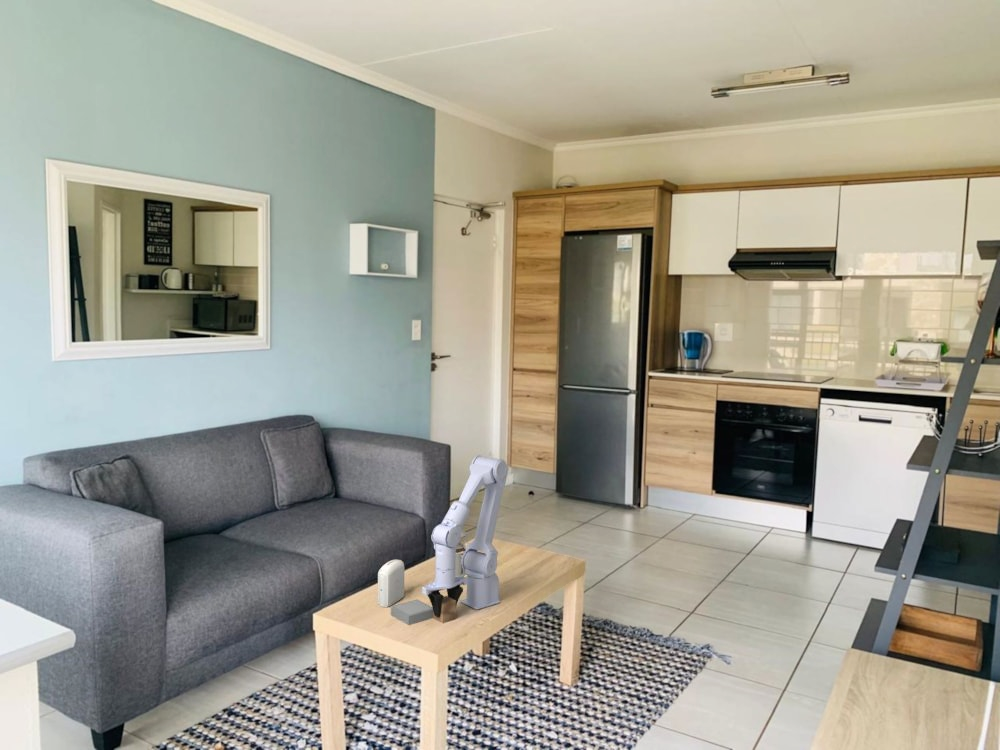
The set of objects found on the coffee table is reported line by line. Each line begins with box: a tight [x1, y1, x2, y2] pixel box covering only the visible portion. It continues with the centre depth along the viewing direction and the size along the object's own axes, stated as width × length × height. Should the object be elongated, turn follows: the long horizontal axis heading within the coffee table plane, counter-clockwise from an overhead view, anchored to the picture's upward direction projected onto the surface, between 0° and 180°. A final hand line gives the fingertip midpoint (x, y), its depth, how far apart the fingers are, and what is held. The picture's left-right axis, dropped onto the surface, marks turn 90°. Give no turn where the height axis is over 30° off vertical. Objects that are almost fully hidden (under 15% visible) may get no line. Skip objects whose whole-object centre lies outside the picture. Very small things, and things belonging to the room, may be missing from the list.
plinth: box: [390, 598, 434, 626], centre depth 212 cm, size 9×9×2 cm
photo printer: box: [377, 559, 405, 608], centre depth 222 cm, size 10×4×12 cm, turn 156°
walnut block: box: [432, 595, 457, 624], centre depth 211 cm, size 4×4×6 cm
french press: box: [453, 500, 469, 577], centre depth 247 cm, size 10×12×25 cm
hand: (444, 613), depth 211 cm, fingers closed on walnut block, 4 cm apart
